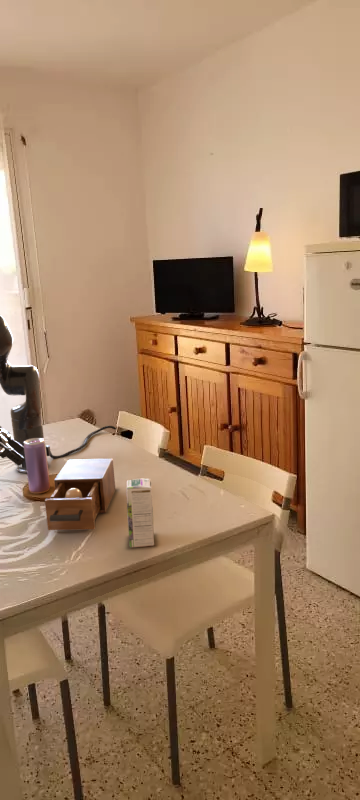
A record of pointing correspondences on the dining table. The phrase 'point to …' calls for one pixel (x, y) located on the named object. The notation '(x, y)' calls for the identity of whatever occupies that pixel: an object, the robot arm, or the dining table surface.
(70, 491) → the egg
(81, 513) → the drawer
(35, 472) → the beverage can
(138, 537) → the syrup box
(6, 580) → the dining table surface
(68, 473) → the cabinet
